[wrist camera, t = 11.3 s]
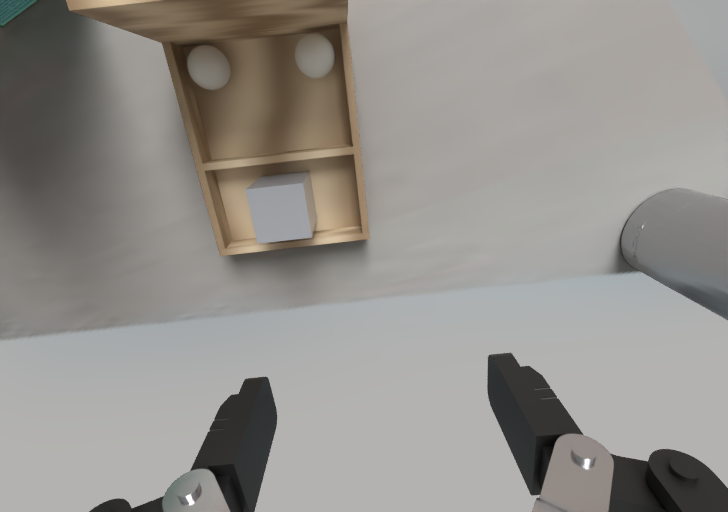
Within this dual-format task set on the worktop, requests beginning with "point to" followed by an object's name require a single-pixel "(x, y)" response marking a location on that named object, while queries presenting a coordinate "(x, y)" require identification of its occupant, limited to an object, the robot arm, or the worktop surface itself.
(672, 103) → the worktop surface
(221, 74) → the pebble
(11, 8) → the milk carton
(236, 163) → the divided box
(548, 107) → the worktop surface
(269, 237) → the gray rectangular block
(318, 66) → the pebble
